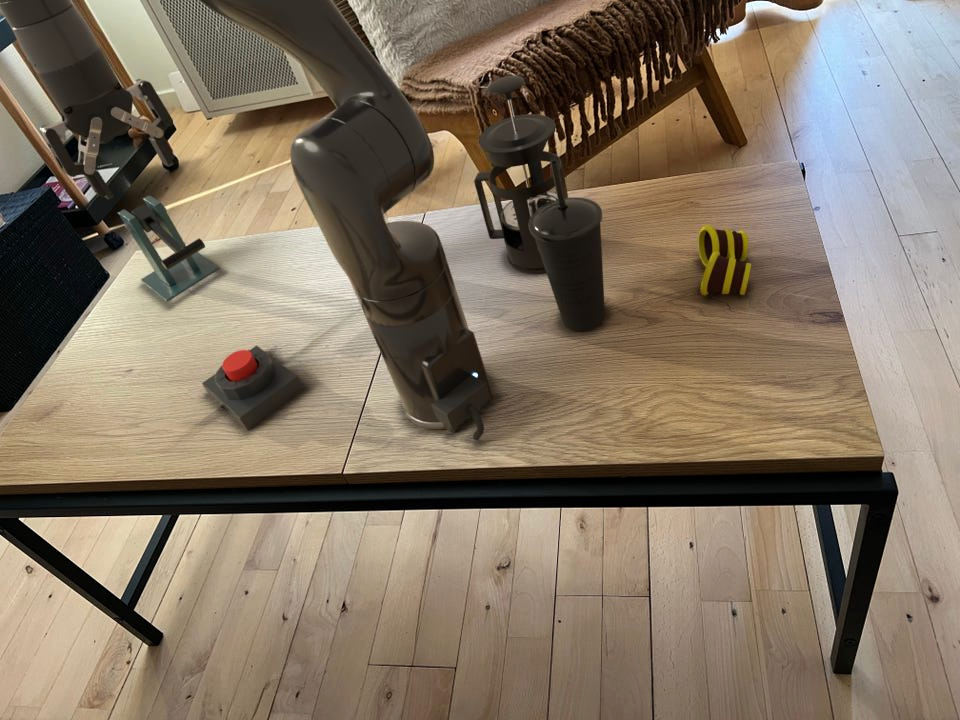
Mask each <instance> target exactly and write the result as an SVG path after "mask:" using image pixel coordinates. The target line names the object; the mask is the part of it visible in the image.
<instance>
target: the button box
mask: <svg viewBox="0 0 960 720" xmlns="http://www.w3.org/2000/svg"><path fill="white" fill-rule="evenodd" d="M247 350H248V351H250V352H251V353H252V355H253V357H254V359H255V360H256V362H257V364H258V368H257V370H256V371H255V373H253V374H252V375H251V376H249V377H248V378H246V379H243V380H240V381H237V382H235V381H231V380H230V379H229V378H228V376H227V374H226V373H225V371H224V369H223V367H222V364H221V366H219V368H218V370H217V371H216V372H215V373H214V374H213V375H211V376H210V377H208V378H207V379H206V380H204V381H203V382H201V385H202V386H203V388H204V390H205V391H206V392H207V393H208V394H209V395H210V396H211V397H213V399H215V400H216V401H217V402H218V403H219V404H220V407H221V408H222V409H223V410H224V411H225V412H226V413H228V414H229V415H230V416H231V417H232V418H233V419H234V420H235V421H236V422H237V423H238V424H240V425H241V427H243V428H244V429H245V430H246V431H247V432H248V431H250V430H251V429H253V428H254V427H256V425H258V424H259V423H261V422H262V421H263V420H264V419H266V418H267V417H269V416H270V415H271V414H273V413H274V412H275V411H277V410H278V409H280V408H281V407H282V406H284V405H285V404H286V403H288V402H289V401H290V400H292V399H293V398H295V397H296V396H297V395H299V394H300V393H301V392H303V391H304V390H305V388H304V385H303V384H302V381H301V380H300V379H299V377H298V375H296V374H295V373H294V372H292V371H291V369H289V368H287V367H286V366H284V365H283V364H282V363H280V361H278V360H277V359H275V358H274V357H273V356H271V355H270V354H269V353H267V352H266V351H264V349H262V348H261V347H259V346H258V345H255V346H254V347H252V348H251V349H247Z"/></svg>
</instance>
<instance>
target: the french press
mask: <svg viewBox="0 0 960 720" xmlns="http://www.w3.org/2000/svg"><path fill="white" fill-rule="evenodd" d="M524 84H525V79H524V77H522V76H519V75H507V76H502V77H500V78H498V79H494V81H492V82H490V83H489V84H488V86H487V89H486V91H487V92H488V93H489V94H492V95H503V98H504V100H505V101H507V103H508V108H509V113H510V117H507V118H504V119H501V120H499V121H497V122H495V123H492V124H491V125H490V126H488V127H487V128H486V129H484V131H482V133H481V134H480V136H479V138H478V144H479V147H480V149H481V150H483V152H485V157H486V160H487V161H488V162H489V163H490V164H491V165H493V166H492V168H491V169H490V171H480V172H477V173H476V176H475V178H474V180H473V181H474V187H475V190H476V194H477V199H478V201H479V205H480V210H481V212H482V216H483V219H484V224H485V226H486V227H485V228H486V230H487V235H488V237H489V239H490V240H502V239H503V241H504V246H505V250H506V259H507V262H508V265H509V266H510V267H511V268H512V269H514V270H516V271H518V272H520V273H524V274H531V275H532V274H534V275H535V274H544V273H546V270H545V267H544V264H543V261H542V258H541V255H540V252H539V249H538V246H537V243H536V240H535V237H534V236H533V235H532V234H531V233H530V230H529V226H528V224H529V220H530V217H531V216H532V214H533V213H534V212H535V211H536V210H538V209H539V208H540V207H542V206H544V205H545V204H548V203H550V202H552V201H555V200H558V198H557V193H556V191H551V190H553V189H555V182H554V177H553V175H552V176H551V177H549V178H548V179H545V175H544V169H543V164H542V162H547V163H551V162H552V161H557V162H558V167H559V172H560V177H561V183H562V188H563V193H564V198H569V193H568V187H567V182H566V178H565V173H564V167H563V162H562V159H561V158H560V155H557V154H556V153H554V152H551V151H547V150H545V148H546V145H547V143H548V140H549V139H550V138H551V137H552V136H553V134H554V133H555V131H556V124H555V121H554V120H553V119H552V118H551V117H549V116H547V115H545V114H539V113H525V114H517V115H515V113H514V109H513V103H512V99H513V98H514V97H513V92H514V91H516V90H518V89H520V88H521V87H522V86H523V85H524ZM526 165H527V167H526ZM520 166H522V171H523V175H524V180H525V184H526V187H524V188H523V187H522V188H513V189H512V188H511V189H510V188H503V187H499V186H498V184H497V178H498V177H499V175H501V174H502V173H503V172H505V171H507V170H509V169H510V168H514V167H520ZM527 168H528V172H529V177H530V179H529V177H528V172H527ZM483 182H488V183H489V187H490V191H491V193H492V196H493V200H494V204H495V209H496V212H497V217H498V220H499V224H500V227H501V228H500V229H495V226H494V224H493V220H492V216H491V212H490V208H489V204H488V200H487V197H486V193H485V188H484V186H483ZM530 182H531V186H530ZM501 199H504V200H510V201H509V202H508V203H507V204H506V205H505V206H504V207H503V203H502V200H501ZM521 246H523V249H519V248H520V247H521Z"/></svg>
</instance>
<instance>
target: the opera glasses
mask: <svg viewBox="0 0 960 720" xmlns="http://www.w3.org/2000/svg"><path fill="white" fill-rule="evenodd" d="M697 237H698V238H697V246H698V247H697V248H698V254H699V258H700V261H701V263H702V264H703V266H704V267H705V269H704V272H703V275H702V278H701V282H700V294H701V296H708V295H709V293H721V295H729V293H732V294H736V293H739V295H740V296H745V294H746V291H747V287H748V283H749V279H750V272H751V268H752V263H750V262H746V264H744V263H743V262H745V261H746V260H747V258H748V254H749V237H748V234H747V231H746V230H739V231H736V230H731V229H729V228H722V229H718V228H715V227H714V226H712V225H710V224H706V225H703V226H702V227H701V228H700V230H699V232H698V236H697Z"/></svg>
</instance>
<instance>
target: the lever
mask: <svg viewBox="0 0 960 720" xmlns="http://www.w3.org/2000/svg"><path fill="white" fill-rule="evenodd" d="M130 213H131V214H132V215H133V216H135V217H136V218H137V220H138V222H139V223H140V225H141V227H142V228H143V230H144V231H145V233H146V234H148V233H149V232H153V233H154V234H155V235H156V236H157V237H158V238H159V239H160V240H161V241H162V242H163V243H164V244H165V245H166V246H167V247H168V248H169V249H170V250H172V251H173V252H174V253H172V254H171V255H169V256H167V257H165V258H164V259H162V261H161V263H162V265H163V266H164V267H165V269H166V270H169V269H170V268H172V267H174V266H175V265H177V264H179V263H180V262H182V261H184V260H185V259H187V258H189V257H190V256H192V255H193V254H195V253H199V252H200V251H202V250H203V249H205V248H206V245H205V242H204V241H203V239H201V238H199V237H198V238H197V239H195V240H194V241H192V242H190V243H188V244H187V245H186V246H185V247H184V248H183V247H182V246H181V245H180V244H179V243H178V242H177V241H176V240H175V239H174V238H173V237H172V236H171V235H170V234H169V233H167V232H166V231H165V230H164V229H163V228H162V227H161V226H160V223H159V221H158V219H157V217H156V215H155V213H154V212H153V211H152V210H151V209H150V208H149V207H148V206H147V204H146V203H143V204H141V205H139V206H138V207H136V208H135V209H132V210H131V212H130Z"/></svg>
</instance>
